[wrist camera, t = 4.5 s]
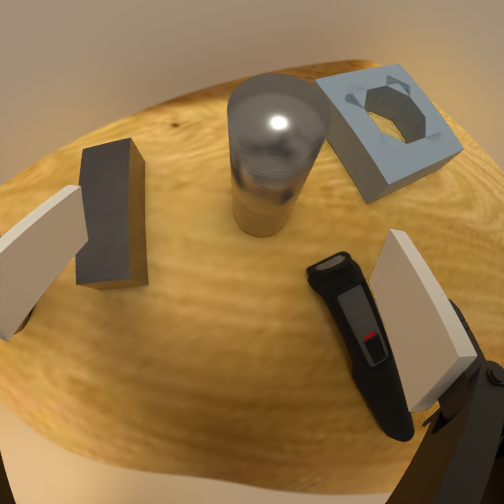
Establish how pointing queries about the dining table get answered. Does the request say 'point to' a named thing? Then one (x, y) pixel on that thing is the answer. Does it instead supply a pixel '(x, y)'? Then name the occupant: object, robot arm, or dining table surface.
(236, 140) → the ball
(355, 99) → the bore block
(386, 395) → the electric trimmer
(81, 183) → the square bar
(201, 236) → the dining table surface
